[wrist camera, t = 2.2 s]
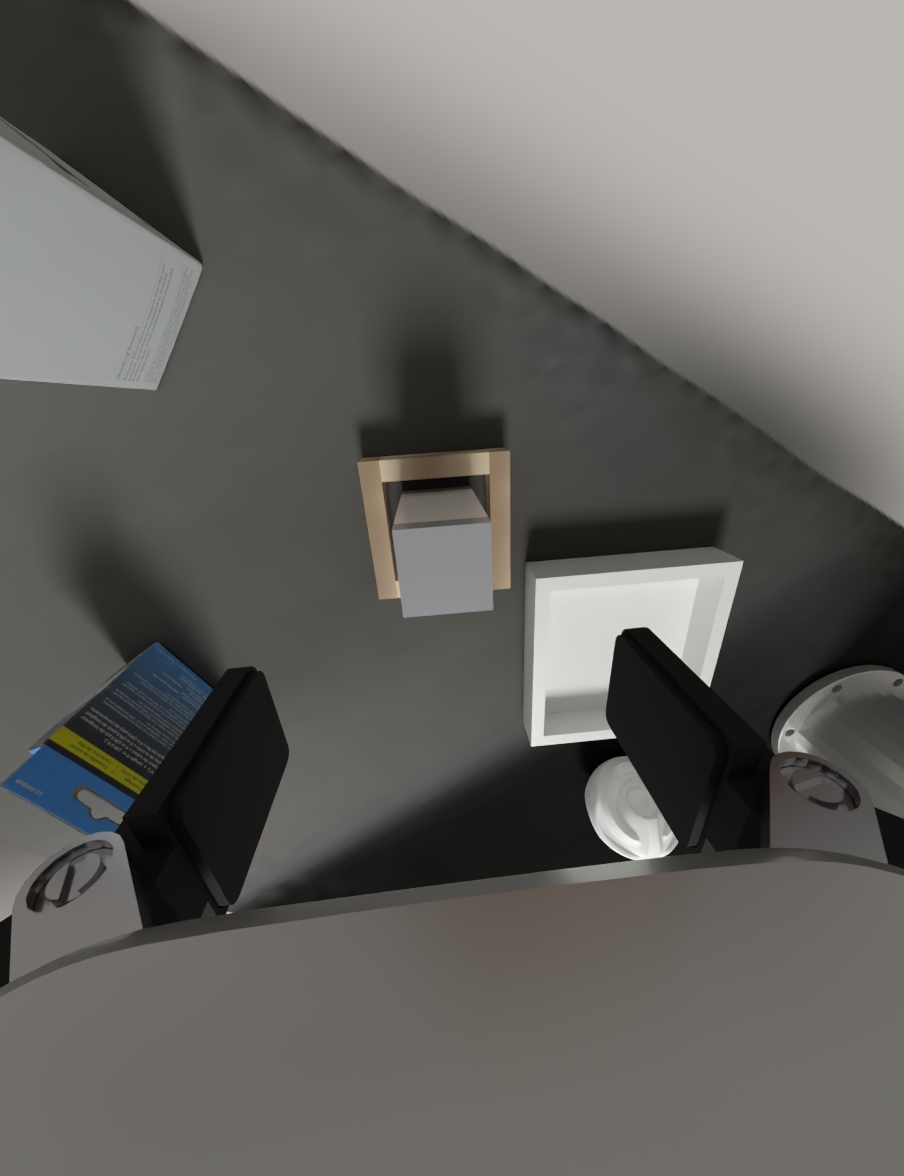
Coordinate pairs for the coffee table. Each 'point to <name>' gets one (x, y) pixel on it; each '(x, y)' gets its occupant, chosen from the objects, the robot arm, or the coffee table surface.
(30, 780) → the label tape cartridge
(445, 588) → the grey white rectangular block
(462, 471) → the tan wooden flat frame
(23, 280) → the supplement box
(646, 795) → the white grooved ball
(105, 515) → the coffee table surface
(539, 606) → the parts tray
